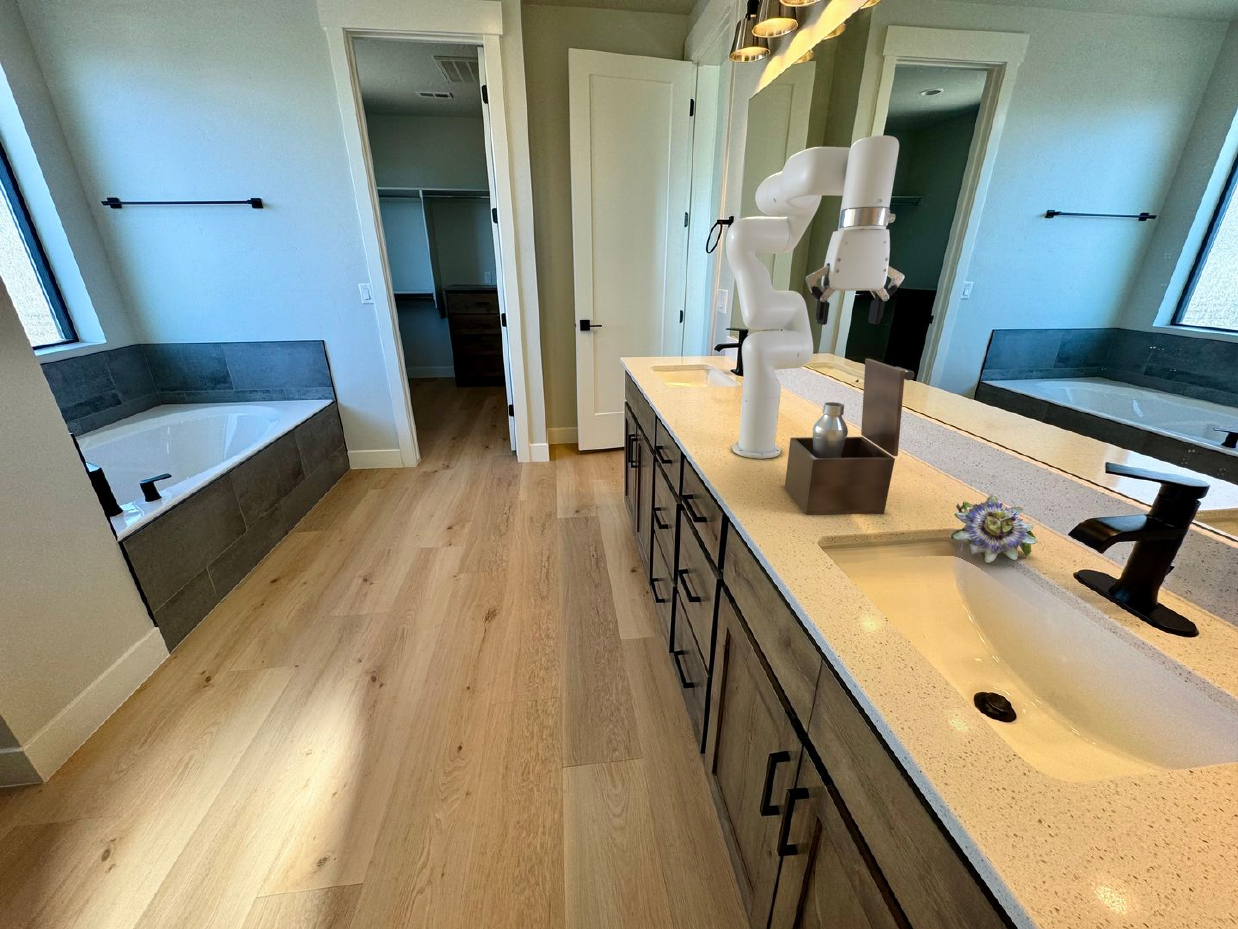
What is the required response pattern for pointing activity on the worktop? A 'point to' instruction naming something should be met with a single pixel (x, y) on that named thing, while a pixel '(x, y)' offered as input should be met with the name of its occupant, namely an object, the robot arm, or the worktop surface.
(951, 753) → the worktop surface
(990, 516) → the passion flower
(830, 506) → the chest
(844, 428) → the silver metal bottle
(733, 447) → the robot arm
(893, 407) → the lid
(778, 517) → the worktop surface
